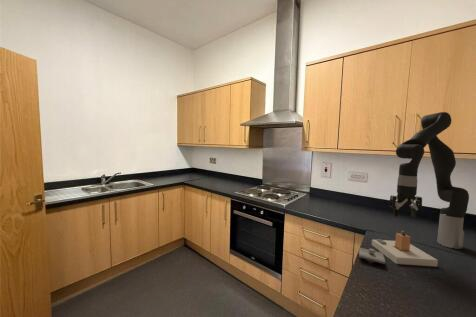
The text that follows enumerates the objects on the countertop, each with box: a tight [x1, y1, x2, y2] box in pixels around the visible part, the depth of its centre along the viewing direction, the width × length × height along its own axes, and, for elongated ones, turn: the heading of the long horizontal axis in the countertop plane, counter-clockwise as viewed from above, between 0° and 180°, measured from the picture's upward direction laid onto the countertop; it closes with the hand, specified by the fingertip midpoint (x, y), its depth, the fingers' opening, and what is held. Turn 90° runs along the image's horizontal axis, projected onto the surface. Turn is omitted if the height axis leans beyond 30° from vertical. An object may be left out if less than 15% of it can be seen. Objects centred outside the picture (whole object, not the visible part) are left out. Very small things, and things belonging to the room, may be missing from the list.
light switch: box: [358, 247, 386, 265], centre depth 94 cm, size 10×10×5 cm
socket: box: [371, 238, 439, 268], centre depth 100 cm, size 18×18×4 cm
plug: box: [394, 230, 412, 252], centre depth 100 cm, size 4×4×12 cm
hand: (404, 216), depth 101 cm, fingers open, 8 cm apart
